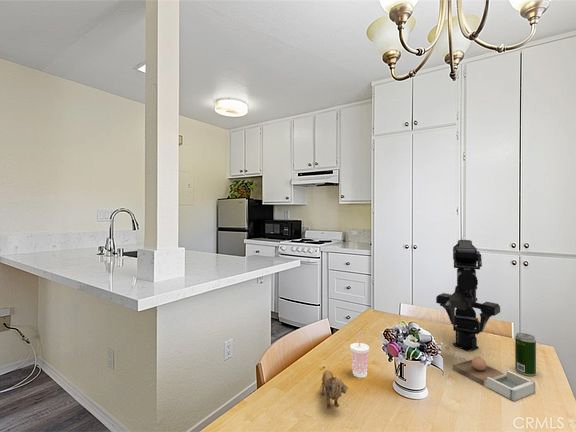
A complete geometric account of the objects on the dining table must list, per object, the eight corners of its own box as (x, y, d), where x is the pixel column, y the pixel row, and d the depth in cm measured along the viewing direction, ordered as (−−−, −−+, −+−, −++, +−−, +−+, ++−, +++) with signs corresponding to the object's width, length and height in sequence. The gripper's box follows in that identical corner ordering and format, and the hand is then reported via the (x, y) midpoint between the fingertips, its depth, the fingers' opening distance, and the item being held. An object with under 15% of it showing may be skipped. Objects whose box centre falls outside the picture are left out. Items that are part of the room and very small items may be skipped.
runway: (453, 369, 103) (453, 365, 103) (473, 363, 107) (473, 359, 107) (486, 387, 92) (486, 382, 92) (508, 380, 96) (508, 375, 96)
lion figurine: (350, 414, 80) (349, 380, 80) (331, 418, 79) (330, 383, 79) (329, 384, 95) (329, 355, 95) (313, 386, 93) (312, 357, 93)
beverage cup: (372, 373, 101) (372, 331, 101) (363, 381, 96) (363, 336, 96) (356, 367, 105) (356, 326, 105) (346, 374, 100) (346, 331, 100)
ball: (468, 368, 101) (468, 356, 101) (477, 365, 102) (477, 353, 102) (480, 373, 97) (480, 361, 97) (489, 371, 98) (489, 358, 98)
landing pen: (486, 387, 92) (486, 377, 92) (508, 380, 96) (508, 370, 96) (513, 401, 85) (513, 390, 85) (535, 392, 89) (535, 382, 89)
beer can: (532, 378, 97) (532, 340, 97) (512, 371, 101) (512, 335, 101) (538, 373, 100) (538, 336, 100) (519, 366, 104) (519, 331, 104)
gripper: (428, 282, 109) (428, 326, 109) (487, 292, 94) (488, 343, 94) (443, 277, 116) (443, 318, 116) (500, 286, 101) (500, 334, 101)
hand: (466, 328), depth 107 cm, fingers open, 9 cm apart
